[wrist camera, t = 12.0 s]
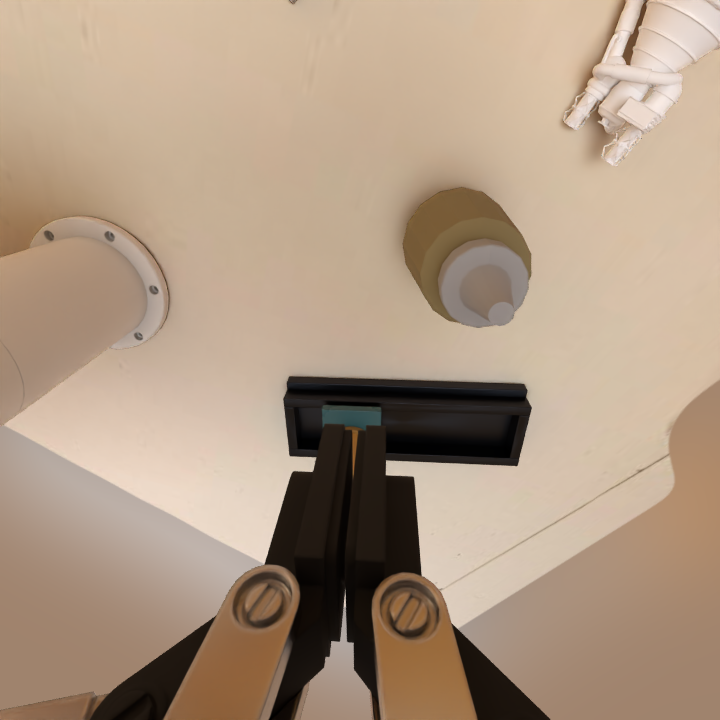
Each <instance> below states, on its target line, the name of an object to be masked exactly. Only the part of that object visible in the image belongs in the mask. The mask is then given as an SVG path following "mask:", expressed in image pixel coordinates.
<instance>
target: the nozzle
mask: <svg viewBox="0 0 720 720" xmlns="http://www.w3.org/2000/svg"><path fill="white" fill-rule="evenodd" d="M322 421H323V427H324V424H325V423H327V424H345V430H352V438H353V474H354V465H355V455H356V446H357V437H358V430H366V425H380V426H381V407H364V406H336V405H323V407H322Z"/></svg>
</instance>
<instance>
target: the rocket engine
mask: <svg viewBox="0 0 720 720" xmlns="http://www.w3.org/2000/svg"><path fill="white" fill-rule="evenodd" d="M645 1H646V0H626V4H625V7H624V10H623V12H622V13H621V16H620V18H619V21H618V24H617V27H616V30H615V34H614V35H613V37H612V38H611V40H610V43H609V45H608V47H607V50H606V52H605V55H604V57H603V59H602V62H601V63H600V64H598V65H596V66H595V67H594V68H593V71H592V74H593V75H594V76H593V78H591V79H590V80H589V81H588V83H587V85H588V86H587V88H586V89H585V91H586V93H585V92H584V91H583V93H582V94H584V93H585V95H583V96H580V95H582V94H580V95H578V96H576V99H575V104H574V105H573V106H572V108H571V109H573V108H574V110H572V113H571V114H570V116H569V117H568V118H567V115H566V119H567V120H566V121H565V114H566V112H570V111H569V110H571V109H569V110H567V111H565V114H564V119H563V120H564V123H566V124H567V125H568V126H570V127H571V128H573V129H575V130H576V129H577V130H579V128H580V127H579V128H577V127H578V125H582V126H583V125H585V124H584V123H585V121H586V119H587V118H588V117H590V114H591V113H592V112H593V111H594V110H596V108H597V106H596V108H595V105H594V104H595V103H596V102H597V105H598V103H600V102H599V101H598V100H600V101H603V100H604V101H603V103H602V104H601V105H599V110H598V113H599V114H600V115H601V117H602V121H601V122H600V121H599V120H598V122H599V123H600V124H602V125H603V126H605V127H604V129H605V131H606V132H607V133H608V134H609V135H613V134H616V138H615V139H613V142H612V143H614V142H615V144H611V143H609V144H611V145H614V146H613V147H612V148H611V149H610V150H609V152H608V153H607V154H606V155H605V147H606V146H610V145H609V144H607V145H605V146H604V148H603V152H604V156H603V153H602V155H601V156H602V158H603V159H604V160H605V161H607V162H608V163H610V164H611V165H613V166H617V165H618V164H619V163H620V162H621V161H622V160H624V159H625V157H626V156H625V157H624V155H623V154H624V153H625V152H626V151H627V154H628V152H631V149H632V148H633V147H634V146H635V145H637V144H638V142H639V140H640V139H642V138H640V137H641V135H642V134H644V133H646V134H647V133H648V131H650V130H651V129H652V128H653V127H655V126H656V125H658V124H659V123H660V122H661V121H662V120H663V119H665V118H666V116H665V115H664V114H665V112H666V111H667V110H668V109H669V108H670V107H671V106H672V104H673V103H674V104H676V103H677V102H678V101H677V100H678V98H679V97H680V95H681V93H682V85H681V83H682V80H683V76H682V75H681V74H680V73H677V72H678V71H680V70H682V69H683V68H685V67H687V66H688V65H690V64H695V63H696V62H697V60H698V59H700V58H701V57H703V56H705V55H706V54H708V53H709V52H711V51H713V50H714V49H719V48H720V0H649V1H647V3H646V7H647V10H646V13H645V16H644V19H643V22H642V25H641V26H639V28H638V30H639V35H638V38H637V41H636V45H635V46H634V47H633V51H634V52H633V55H632V59H631V63H630V65H626V62H625V60H624V58H622V55H623V52H624V50H625V47H626V44H627V42H628V39H629V36H630V35H632V34H633V32H634V29H635V26H636V24H637V21H638V18H639V16H640V11H641V8H642V5H643V3H645ZM620 81H621V82H620ZM657 85H658V86H657ZM613 87H614V88H613ZM652 87H653V93H652V94H651V95H650V96H649V97H648V99H647V100H646V101H645V102H643V101H642V99H643V97H644V95H645V94H646V93H647V92H648V91H649V89H650V88H652ZM611 88H613V89H611ZM577 97H583V98H582V99H581V101H580V102H579V103H578V102H577ZM576 102H577V106H575V105H576ZM593 106H594V110H591V108H592V107H593ZM589 111H592V112H591V113H589V114H588V112H589ZM585 116H586V119H585V121H584V120H583V119H584V118H585ZM582 120H583V124H580V123H581V122H582ZM626 122H628V123H630V124H631V125H630V126H628V127H627V128H625V127H624V130H623V129H621V130H622V131H625V133H624V134H623V135H622V136H621V137H620V138H618V134H617V132H620V130H619V129H620V128H621V127H622V126H623V125H624V124H625V123H626ZM582 126H581V127H582ZM625 129H626V130H625ZM638 137H639V140H638V142H637V144H636V139H637V138H638ZM617 138H618V140H616V139H617ZM634 142H635V144H633V143H634ZM631 145H634V146H633V147H632V148H630V149H629V147H630V146H631ZM627 154H626V155H627ZM621 156H622V157H623V159H620V158H621ZM619 160H620V162H619V163H618V164H615V163H616V162H617V161H619Z"/></svg>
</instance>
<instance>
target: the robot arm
mask: <svg viewBox="0 0 720 720" xmlns="http://www.w3.org/2000/svg"><path fill="white" fill-rule="evenodd" d="M168 301H169V296H168V291H167V285H166V282H165V279H164V277H163V274H162V272H161V270H160V268H159V266H158V265H157V263H156V261H155V259H154V258H153V257H152V256H151V254H150V253H149V252H148V251H147V249H146V248H145V247H144V246H143V245H142V244H141V243H140V242H139V241H138V240H137V239H135V238H134V237H133V236H132V235H130V234H129V233H127V232H126V231H125V230H123V229H122V228H120V227H118V226H116V225H114V224H112V223H110V222H107V221H104V220H101V219H98V218H94V217H86V216H74V217H66V218H62V219H59V220H55V221H53V222H51V223H49V224H47V225H45V226H44V227H43V228H42V229H40V230H39V231H38V232H37V233H36V235H35V236H34V238H33V240H32V241H31V244H30V247H29V249H27V250H24V251H20V252H17V253H13V254H10V255H7V256H3V257H0V427H1V426H2V425H4V424H5V423H6V422H8V421H9V420H10V419H12V418H13V417H14V416H16V415H17V414H19V413H20V412H22V411H23V410H25V409H26V408H27V407H29V406H30V405H31V404H33V403H34V402H36V401H37V400H38V399H40V398H41V397H42V396H44V395H45V394H46V393H48V392H49V391H51V390H52V389H53V388H55V387H56V386H57V385H59V384H60V383H61V382H63V381H64V380H66V379H67V378H68V377H70V376H71V375H72V374H74V373H75V372H76V371H78V370H79V369H81V368H82V367H83V366H85V365H86V364H87V363H89V362H90V361H91V360H93V359H94V358H96V357H97V356H98V355H100V354H101V353H102V352H104V351H105V350H106V349H108V348H111V349H127V348H131V347H135V346H138V345H140V344H142V343H144V342H146V341H148V340H149V339H150V338H151V337H153V336H154V335H155V334H156V333H157V332H158V331H159V329H160V328H161V327H162V325H163V323H164V321H165V319H166V316H167V312H168ZM345 588H346V621H347V642H352V643H354V670H355V671H356V673H357V674H358V675H359V677H360V678H361V679H362V680H363V682H364V683H365V685H366V686H367V687H368V689H369V690H370V700H371V712H372V720H550V719H549V717H547V716H546V715H545V714H544V713H543V712H542V711H541V710H540V709H539V708H538V707H537V706H536V705H535V704H534V703H533V702H532V701H531V700H530V699H529V698H528V697H527V696H526V695H525V694H524V693H523V692H522V691H521V690H520V689H519V688H518V687H517V686H515V684H514V683H513V682H511V681H510V680H509V679H508V678H507V677H506V676H505V675H504V674H503V673H502V672H501V671H500V670H499V669H498V668H497V667H496V666H495V665H494V664H493V663H492V662H491V661H490V660H489V659H488V658H487V657H486V656H485V655H484V654H483V653H482V652H481V651H479V650H478V649H477V647H475V646H474V645H473V644H472V643H471V642H470V641H469V640H468V639H467V638H466V637H465V636H464V635H463V634H462V633H461V632H460V631H459V630H458V629H457V628H456V627H455V626H454V625H453V624H452V623H451V620H450V616H449V613H448V609H447V605H446V603H445V600H444V598H443V596H442V594H441V592H440V591H439V590H438V588H437V587H436V586H435V585H434V584H433V583H432V582H430V581H429V580H428V579H426V578H425V577H423V576H422V575H421V562H420V548H419V535H418V522H417V509H416V496H415V483H414V477H409V476H387V475H386V426H380V425H366V430H358V437H357V446H356V455H355V465H354V474H353V438H352V430H345V424H327V423H325V424H324V427H323V431H322V436H321V440H320V445H319V449H318V453H317V458H316V462H315V466H314V471H313V472H298V471H293V473H292V474H291V477H290V480H289V484H288V487H287V490H286V494H285V497H284V500H283V504H282V507H281V511H280V514H279V517H278V521H277V524H276V528H275V531H274V534H273V538H272V541H271V545H270V548H269V551H268V555H267V558H266V562H265V565H263V566H258V567H255V568H253V569H251V570H249V571H247V572H245V573H244V574H243V575H242V576H241V577H240V578H238V579H237V580H236V581H235V583H234V584H233V586H232V587H231V589H230V590H229V592H228V594H227V596H226V598H225V600H224V602H223V604H222V606H221V608H220V609H219V611H218V613H217V615H216V616H215V617H214V618H212V619H211V620H209V621H208V622H207V623H205V624H204V625H203V626H201V627H200V628H198V629H197V630H195V631H194V632H193V633H191V634H190V635H188V636H187V637H186V638H184V639H183V640H181V641H180V642H179V643H177V644H176V645H175V646H173V647H172V648H170V649H169V650H167V651H166V652H165V653H163V654H162V655H160V656H159V657H158V658H156V659H155V660H153V661H152V662H151V663H149V664H148V665H146V666H145V667H144V668H142V669H141V670H139V671H138V672H137V673H135V674H134V675H132V676H131V677H130V678H128V679H127V680H125V681H124V682H123V683H121V684H120V685H119V686H117V687H116V688H115V689H114V690H113V691H112V692H111V693H109V694H104V695H99V696H96V695H95V693H94V692H89V693H84V694H79V695H74V696H68V697H63V698H59V699H53V700H48V701H43V702H38V703H33V704H28V705H23V706H18V707H13V708H8V709H3V710H0V720H300V718H301V714H302V711H303V707H304V703H305V700H306V696H307V692H308V688H309V682H310V680H311V679H312V678H313V677H314V676H315V675H316V674H318V672H320V671H321V670H322V669H323V668H324V664H325V657H329V656H330V648H331V641H338V642H339V641H340V637H341V627H342V616H343V607H344V596H345Z"/></svg>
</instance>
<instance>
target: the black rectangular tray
mask: <svg viewBox="0 0 720 720" xmlns="http://www.w3.org/2000/svg"><path fill="white" fill-rule="evenodd" d="M287 389H288V390H287V392H286V394H285V396H284V399H283V400H284V409H285V418H286V427H287V436H288V445H289V455H290V456H297V457H317V453H318V449H319V445H320V440H321V436H322V431H323V421H322V407H323V405H336V406H364V407H381V426H386V460H390V461H413V462H436V463H460V464H483V465H506V466H518V462H519V457H520V453H521V449H522V445H523V441H524V437H525V433H526V429H527V425H528V421H529V417H530V413H531V409H532V407H531V405H530V404H529V402H528V400H527V398H526V395H527V388H526V387H525V385H524V384H500V383H469V382H438V381H407V380H375V379H344V378H313V377H289V379H288V381H287Z"/></svg>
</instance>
